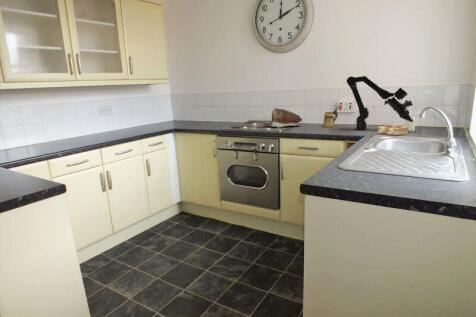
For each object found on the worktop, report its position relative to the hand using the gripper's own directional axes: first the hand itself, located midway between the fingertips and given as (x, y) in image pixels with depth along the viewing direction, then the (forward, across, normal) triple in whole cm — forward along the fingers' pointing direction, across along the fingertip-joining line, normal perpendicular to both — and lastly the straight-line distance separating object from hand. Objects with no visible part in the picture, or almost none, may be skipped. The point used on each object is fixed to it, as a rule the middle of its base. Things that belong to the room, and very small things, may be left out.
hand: (412, 121), depth 220 cm
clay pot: (-58, +5, +68) cm, 90 cm away
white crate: (+4, 0, +6) cm, 7 cm away
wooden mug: (-34, +12, +44) cm, 57 cm away
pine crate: (-4, -16, +13) cm, 21 cm away
